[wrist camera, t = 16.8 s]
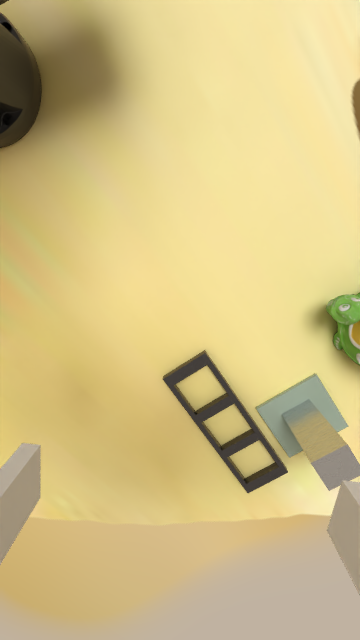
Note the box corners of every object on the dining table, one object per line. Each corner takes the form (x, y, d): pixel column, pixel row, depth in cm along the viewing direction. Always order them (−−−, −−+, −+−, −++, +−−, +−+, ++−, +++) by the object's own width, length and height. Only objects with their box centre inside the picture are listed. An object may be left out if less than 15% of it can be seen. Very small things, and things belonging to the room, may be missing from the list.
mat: (288, 455, 48) (289, 457, 48) (255, 407, 46) (256, 409, 46) (346, 424, 47) (348, 426, 46) (315, 373, 45) (316, 374, 44)
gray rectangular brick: (296, 436, 47) (328, 490, 36) (281, 413, 46) (310, 462, 35) (323, 421, 46) (364, 473, 35) (308, 398, 45) (347, 444, 34)
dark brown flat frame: (163, 376, 45) (162, 379, 44) (204, 350, 44) (205, 352, 43) (246, 487, 50) (247, 493, 49) (285, 466, 49) (288, 472, 48)
